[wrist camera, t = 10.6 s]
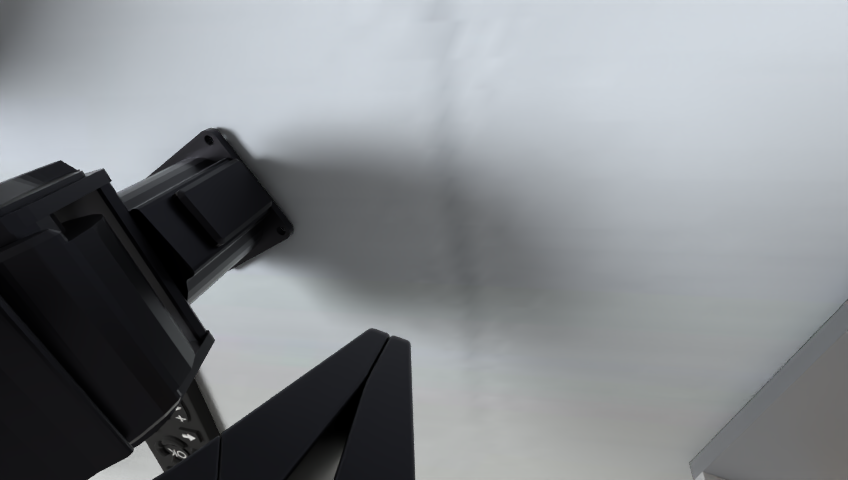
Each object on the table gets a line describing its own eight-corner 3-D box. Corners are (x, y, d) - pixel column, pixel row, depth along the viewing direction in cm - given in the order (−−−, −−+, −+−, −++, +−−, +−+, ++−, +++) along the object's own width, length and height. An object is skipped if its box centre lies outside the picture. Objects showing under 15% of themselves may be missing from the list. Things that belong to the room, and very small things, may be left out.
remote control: (202, 505, 47) (189, 525, 45) (57, 245, 31) (28, 260, 29) (266, 523, 45) (254, 544, 43) (146, 254, 29) (120, 272, 27)
